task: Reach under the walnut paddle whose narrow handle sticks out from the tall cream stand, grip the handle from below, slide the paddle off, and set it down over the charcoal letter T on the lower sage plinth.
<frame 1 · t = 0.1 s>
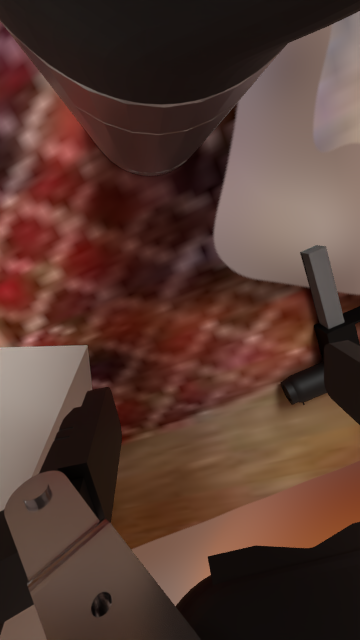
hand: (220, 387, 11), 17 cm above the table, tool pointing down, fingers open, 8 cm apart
door handle: (353, 306, 30), on the table
cream stand: (37, 399, 30), on the table
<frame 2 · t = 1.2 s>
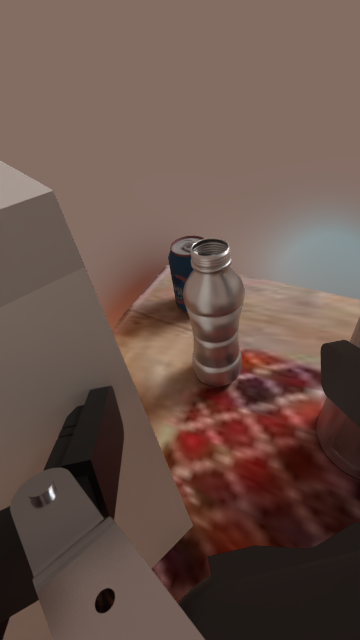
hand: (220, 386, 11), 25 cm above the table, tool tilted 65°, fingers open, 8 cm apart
soda can: (196, 305, 52), on the table
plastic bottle: (217, 373, 41), on the table
cream stand: (113, 522, 29), on the table
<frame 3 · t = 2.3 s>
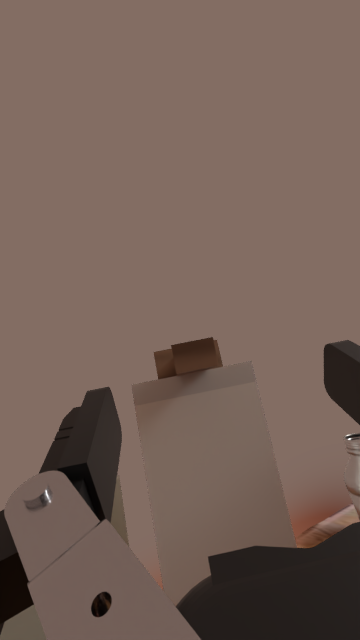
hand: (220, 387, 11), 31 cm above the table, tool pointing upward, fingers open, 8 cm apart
walnut paddle: (191, 373, 29), point 32 cm above the table, touching cream stand
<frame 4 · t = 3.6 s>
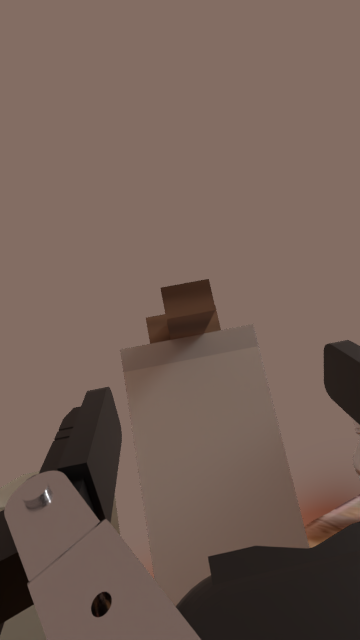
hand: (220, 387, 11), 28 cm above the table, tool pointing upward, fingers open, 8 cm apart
walnut paddle: (187, 337, 26), point 32 cm above the table, touching cream stand
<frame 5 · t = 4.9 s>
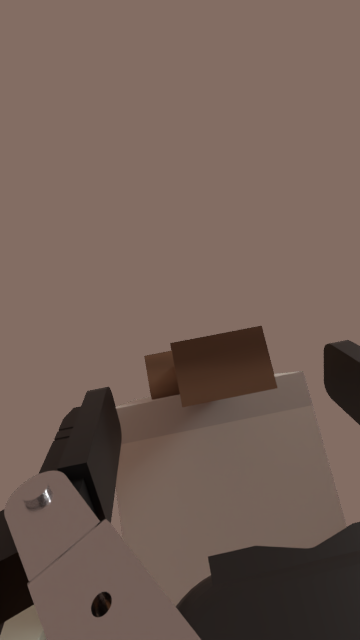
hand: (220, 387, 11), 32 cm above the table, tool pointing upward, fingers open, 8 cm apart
walnut paddle: (205, 390, 18), point 32 cm above the table, touching cream stand
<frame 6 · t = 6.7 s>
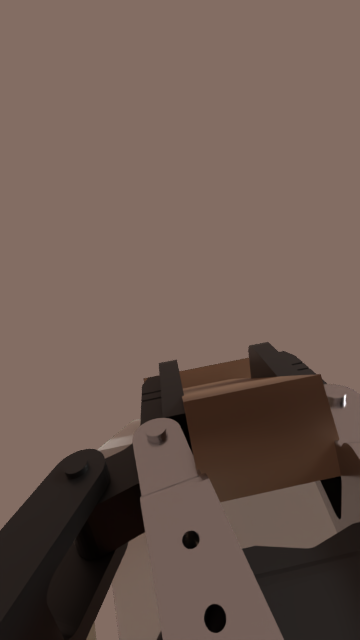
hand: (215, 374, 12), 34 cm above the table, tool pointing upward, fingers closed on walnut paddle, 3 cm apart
walnut paddle: (217, 424, 15), point 32 cm above the table, touching cream stand, gripper
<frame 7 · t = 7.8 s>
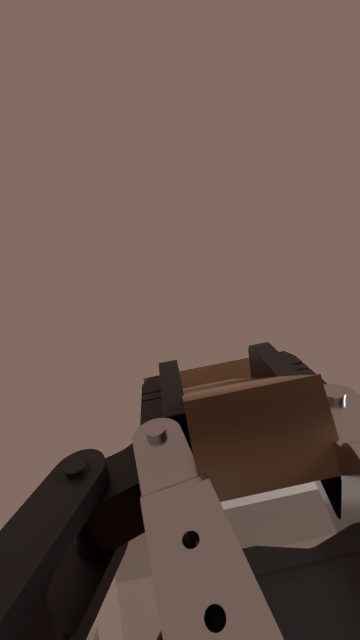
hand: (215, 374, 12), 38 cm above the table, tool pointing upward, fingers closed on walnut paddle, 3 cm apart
walnut paddle: (217, 424, 15), point 36 cm above the table, touching gripper
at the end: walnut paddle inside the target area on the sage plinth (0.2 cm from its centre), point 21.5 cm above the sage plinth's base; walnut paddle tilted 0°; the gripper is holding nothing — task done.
